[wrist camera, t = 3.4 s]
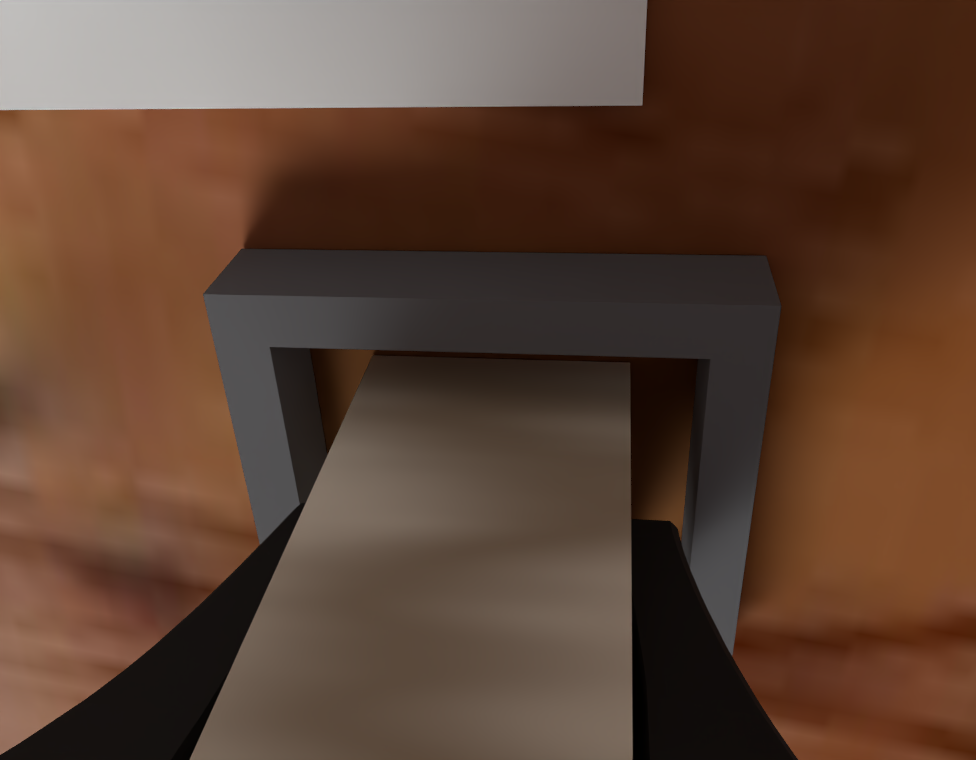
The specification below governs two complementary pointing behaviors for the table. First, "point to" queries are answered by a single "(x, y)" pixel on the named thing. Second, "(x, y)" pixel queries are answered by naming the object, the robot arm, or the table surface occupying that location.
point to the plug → (451, 576)
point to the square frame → (506, 329)
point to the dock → (320, 53)
